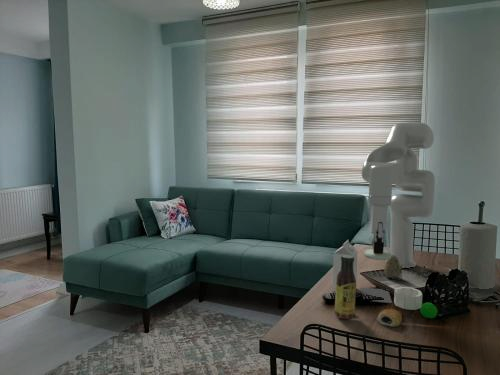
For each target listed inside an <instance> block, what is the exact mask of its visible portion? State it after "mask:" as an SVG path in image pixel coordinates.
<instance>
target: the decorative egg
mask: <svg viewBox="0 0 500 375" xmlns="http://www.w3.org/2000/svg"><path fill="white" fill-rule="evenodd" d="M384 274H385V276H386V278H387V277H389V278H392V279H391V280H393V279H394V280H397V279H398V278H399V277H400V275H401V268H400V264H399V261H398V259H397V257H396V256H394V255H391V258H390V259H388V260H387V262H386V261H385V265H384ZM389 278H388V279H389ZM396 278H397V279H396Z"/></svg>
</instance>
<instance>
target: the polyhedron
mask: <svg viewBox="0 0 500 375" xmlns="http://www.w3.org/2000/svg"><path fill="white" fill-rule="evenodd" d="M419 312H420V314H421V316H423V317H424V318H426V319H434V318H436V316H437V314H438V308H437V307H436V306H435V304H433V303H431V302H424V303H422V306H421V308H419Z"/></svg>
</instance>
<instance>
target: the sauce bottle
mask: <svg viewBox="0 0 500 375" xmlns="http://www.w3.org/2000/svg"><path fill="white" fill-rule="evenodd" d="M341 261H342V262H341V270H340V272H339V273H338V275H337V283H336V292H335V298H334V299H335V300H334V314H335V316H336V318H339V319H342V320H350V319H352V318H353V317H354V316H355V308H356V297H357V296H356V293H357V292H356V290H357V281H356V280H355V276H354V272H353V262H354V256H352V255H342V256H341Z"/></svg>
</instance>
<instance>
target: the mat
mask: <svg viewBox="0 0 500 375" xmlns="http://www.w3.org/2000/svg"><path fill="white" fill-rule="evenodd" d="M359 288H360V295H361V294H367V295H372V296H376V297H382V298H384V300H372V301H371V303H373V302H374V303H386V304H387V303H388V304H393V301H392V297H391V295H390V291H389V290H388V291H389V292H388V291H385V290H383V289H384V288H370V287H368V288H367V287H359Z"/></svg>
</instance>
